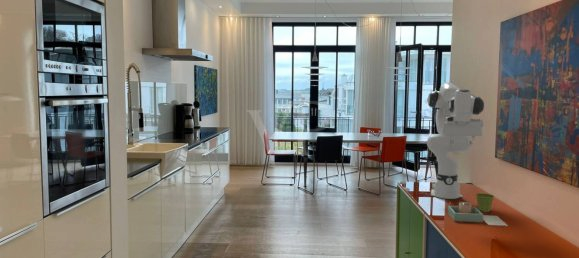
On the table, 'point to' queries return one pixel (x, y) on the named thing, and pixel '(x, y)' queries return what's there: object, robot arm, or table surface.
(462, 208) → the seedling pot
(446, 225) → the table surface
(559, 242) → the table surface
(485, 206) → the plant pot
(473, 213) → the frame
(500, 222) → the mat
